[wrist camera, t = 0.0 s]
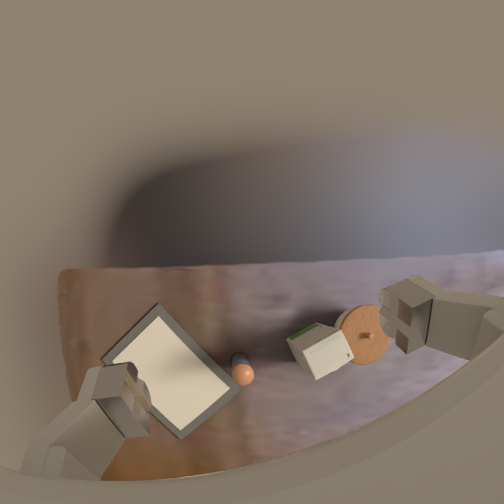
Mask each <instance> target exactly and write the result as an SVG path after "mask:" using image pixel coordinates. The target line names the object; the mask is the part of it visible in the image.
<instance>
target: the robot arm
mask: <svg viewBox="0 0 504 504" xmlns="http://www.w3.org/2000/svg"><path fill="white" fill-rule="evenodd" d="M379 302H380V303H381V304H382V307H381V309H380V311H379V323H380V326H381V329H382V330H383V332H384V333H385V334H386V335H387V336H388V337H391V338H395V344H396V345H397V346H398V347H399V348H400V349H401V350H402V351H403V352H405V353H406V354H408V353H410V352H412V351H414V350H416V349H418V348H420V347H422V346H424V345H426V346H428V347H431V348H434V349H437V350H440V351H442V352H445V353H448V354H451V355H454V356H457V357H460V358H463V359H466V360H469V362H468V363H467V364H465V365H464V366H463V367H461V368H460V369H459V370H457V371H456V372H454V373H453V374H452V375H450V376H449V377H447V378H446V379H444V380H443V381H441V382H440V383H438V384H437V385H435V386H434V387H432V388H430V389H429V390H427V391H426V392H424V393H422V394H421V395H419V396H418V397H416V398H414V399H412V400H411V401H409V402H407V403H406V404H404V405H402V406H400V407H398V408H397V409H395V410H393V411H391V412H389V413H387V414H385V415H383V416H381V417H379V418H377V419H375V420H373V421H371V422H369V423H367V424H365V425H363V426H361V427H359V428H356V429H354V430H352V431H350V432H347V433H345V434H343V435H340V436H338V437H335V438H333V439H330V440H328V441H325V442H323V443H320V444H317V445H315V446H312V447H309V448H306V449H303V450H300V451H297V452H294V453H291V454H288V455H285V456H282V457H278V458H275V459H271V460H268V461H264V462H260V463H256V464H252V465H248V466H244V467H239V468H235V469H230V470H225V471H220V472H214V473H208V474H202V475H195V476H188V477H180V478H170V479H159V480H143V481H101V480H100V478H101V476H102V475H103V473H104V472H105V470H106V469H107V467H108V466H109V464H110V463H111V461H112V460H113V458H114V456H115V455H116V453H117V452H118V450H119V449H120V447H121V446H122V444H123V443H124V441H125V440H126V439H125V438H131V437H139V436H146V435H149V433H150V418H149V416H148V415H147V413H148V412H149V410H150V409H151V397H150V392H149V390H148V387H147V385H146V384H145V382H144V381H143V380H141V379H139V378H138V370H137V368H136V366H135V365H134V363H132V362H130V361H129V362H123V363H117V364H110V365H104V366H97V367H91V368H90V369H88V371H87V374H86V376H85V379H84V382H83V385H82V387H81V390H80V393H79V396H78V399H77V401H76V402H72V403H71V404H70V405H69V406H68V407H67V408H66V409H65V410H63V411H62V412H61V413H60V414H59V415H58V416H57V417H56V418H55V419H54V420H53V421H52V422H51V423H49V424H48V425H47V426H46V427H45V428H44V429H43V430H42V431H41V432H40V433H39V434H38V435H37V436H36V437H35V438H33V439H32V440H31V441H30V442H29V444H28V447H27V450H26V452H25V456H24V459H23V462H22V465H21V468H20V471H17V470H13V469H9V468H4V467H1V466H0V504H504V297H498V296H490V295H482V294H474V293H466V292H458V291H450V290H449V291H447V292H446V291H444V290H442V289H441V288H439V287H437V286H436V285H434V284H432V283H431V282H429V281H427V280H426V279H424V278H422V277H420V276H419V275H413V276H411V277H409V278H407V279H404V280H403V281H401V282H398V283H396V284H394V285H391V286H389V287H386V288H384V289H381V290H380V293H379Z"/></svg>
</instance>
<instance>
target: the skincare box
mask: <svg viewBox="0 0 504 504" xmlns="http://www.w3.org/2000/svg"><path fill="white" fill-rule="evenodd" d="M286 341H287V343H288V345H289V347H290V349H291V351H292V353H293V355H294V357H295V359H296V361H297V362H298V363H299V364H300V365H301V366H302V367H303V368H304V369H305V370H306V371H307V372H308V373H309V374H310V375H311V376H312V377H313V378H314V379H315V380H317V379H319V378H321V377H323V376H325V375H327V374H328V373H330V372H333V371H336V370H337V369H338V368H339V367H340V366H342V365H344V364H345V363H347V362H349V361H350V360H352V359H353V358H354V356H353V353H352V351H351V349H350V347H349V345H348V343H347V341H346V339H345V337H344V335H343V333H342V330H340V329H337V328H333V327H330V326H327V325H323V324H320V323H315V324H313V325H311V326H309V327H307V328H305V329H303V330H302V331H300V332H298V333H296V334H294V335H292V336H290V337H288V338H287V339H286Z"/></svg>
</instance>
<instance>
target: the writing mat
mask: <svg viewBox="0 0 504 504" xmlns="http://www.w3.org/2000/svg"><path fill="white" fill-rule="evenodd" d="M102 360H103V362H104V363H105V364H106V365H110V364H117V363H123V362H129V361H130V362H132V363H134V365H135V366H136V368H137V370H138V378H139V379H141V380H143V381H144V382H145V384H146V385H147V387H148V390H149V392H150V397H151V409H150V410H149V411H150V412H151V413H152V414H153V415H154V416H155V417H156V418H157V419H158V420H159V421H160V422H162V423H163V424H164V425H165V426H166V427H167V428H168V429H169V430H170V431H172V432H173V433H174V434H175V435H176V436H177V437H178V438H180V439H181V440H182V439H183V438H184V437H186V436H187V435H188V434H189V433H191V432H192V431H193V430H194V429H196V428H197V427H198V426H199V425H201V424H202V423H203V422H204V421H205V420H207V419H208V418H209V417H210V416H211V415H213V414H214V413H215V412H216V411H217V410H219V409H220V408H221V407H222V406H223V405H224V404H226V403H227V402H228V401H229V400H230V399H231V398H232V397H233V396H235V395H236V394H237V393H238V392H239V391H240V390H241V389H242V388H243V387H242V386H241V385H239V384H237V383H235V382H234V380H233V378H232V377H231V376H230V375H229V374H228V373H227V372H226V371H225V370H223V369H222V368H221V367H220V366H219V365H218V364H217V363H216V362H215V361H214V360H213V359H212V358H211V357H210V356H209V355H208V354H207V353H206V352H205V351H204V350H203V349H202V348H201V347H200V346H199V345H198V344H197V343H196V342H195V341H194V340H193V339H192V338H191V337H190V336H189V335H188V333H187V332H186V331H185V330H184V329H183V328H182V327H181V326H180V325H179V324H178V323H177V322H176V321H175V320H174V319H173V317H172V316H171V315H170V314H169V313H168V312H167V311H166V310H165V309H164V308H163V306H162V305H161V304H160V303H159V304H158V305H157V306H155V307H154V308H153V309H152V310H151V311H150V312H149V313H148V314H147V315H146V316H145V317H144V318H143V319H142V320H141V321H140V322H139V323H138V324H137V325H136V326H135V327H134V328H133V329H132V330H131V331H130V332H129V333H128V334H127V335H126V336H125V337H124V338H123V339H122V340H121V341H120V342H119V343H118V344H117V345H116V346H115V347H114V348H113V349H112V350H111V351H110V352H109V353H108V354H107V355H106V356H105V357H104V358H103V359H102Z"/></svg>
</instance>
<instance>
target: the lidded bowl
mask: <svg viewBox="0 0 504 504" xmlns="http://www.w3.org/2000/svg"><path fill="white" fill-rule="evenodd" d="M380 309H381V308H379V307H377V306H374V305H361V306H356V307H353V308H350V309H348V310H346V311H345V312H344V313H342V314H341V315H340V316H339V318H338V319H337V321H336V323H335V325H334V328H337V329H340V330H342V333H343V335H344V337H345V339H346V341H347V343H348V345H349V347H350V349H351V351H352V353H353V356H354V358H353V359H352V360H350V361H351V362H353V363H355V364H360V365H366V364H370V363H373V362H375V361H377V360H378V359H379V358H381V357H382V356H383V354H384V353H385V352H386V350H387V349H388V347H389V345H390V342H391V337H388V336H387V335H386V334H385V333H384V332H383V330H382V329H381V326H380V323H379V311H380Z"/></svg>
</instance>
